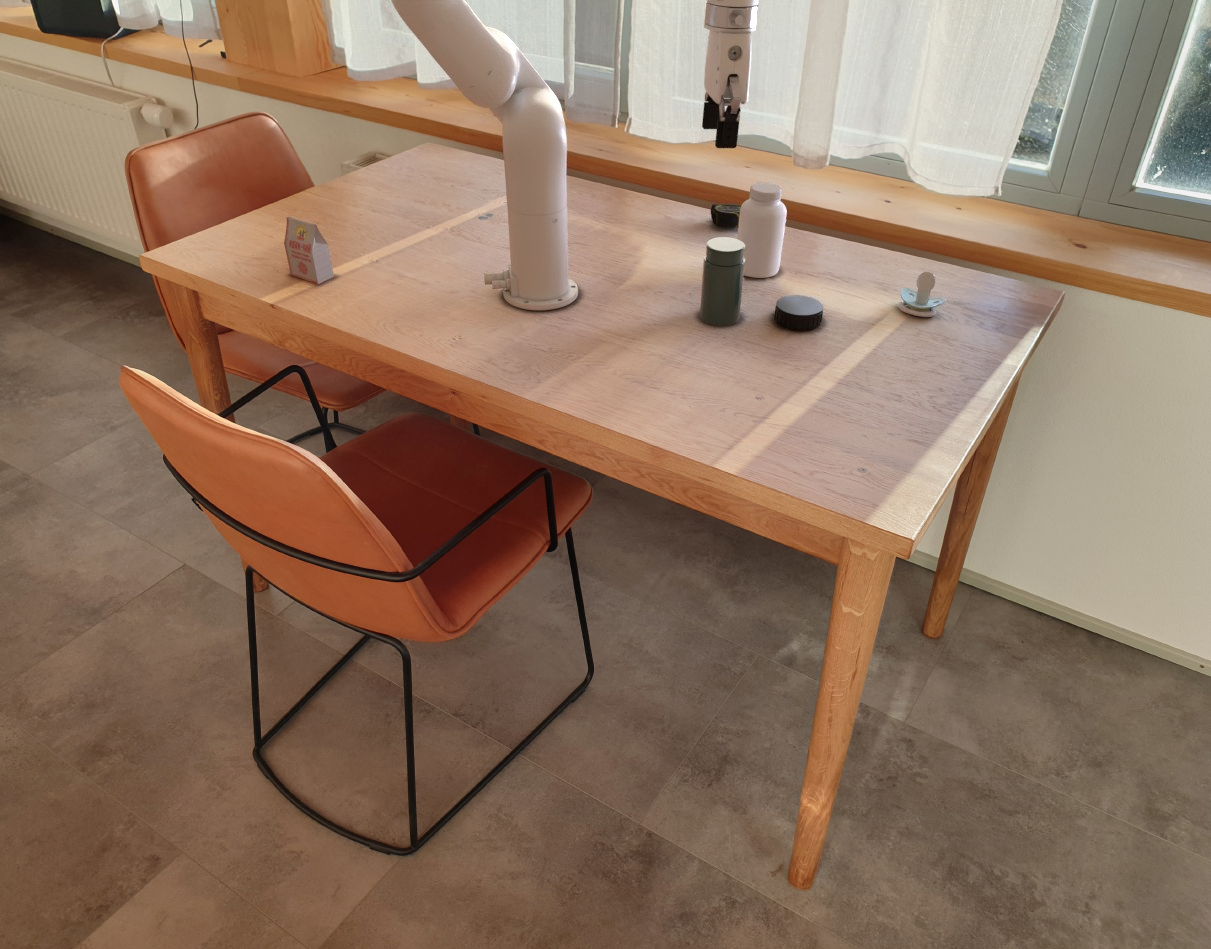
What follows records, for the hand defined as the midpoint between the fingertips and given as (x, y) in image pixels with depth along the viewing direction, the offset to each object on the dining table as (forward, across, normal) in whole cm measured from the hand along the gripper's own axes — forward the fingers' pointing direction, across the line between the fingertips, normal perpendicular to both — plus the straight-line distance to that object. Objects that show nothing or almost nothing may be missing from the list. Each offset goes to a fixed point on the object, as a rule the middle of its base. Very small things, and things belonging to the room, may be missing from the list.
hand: (718, 137), depth 145 cm
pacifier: (+25, -12, -34) cm, 43 cm away
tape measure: (+26, +29, -10) cm, 40 cm away
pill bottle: (+25, +7, -11) cm, 29 cm away
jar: (+26, -10, 0) cm, 28 cm away
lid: (+23, -13, -13) cm, 29 cm away
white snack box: (+27, +13, +67) cm, 74 cm away
